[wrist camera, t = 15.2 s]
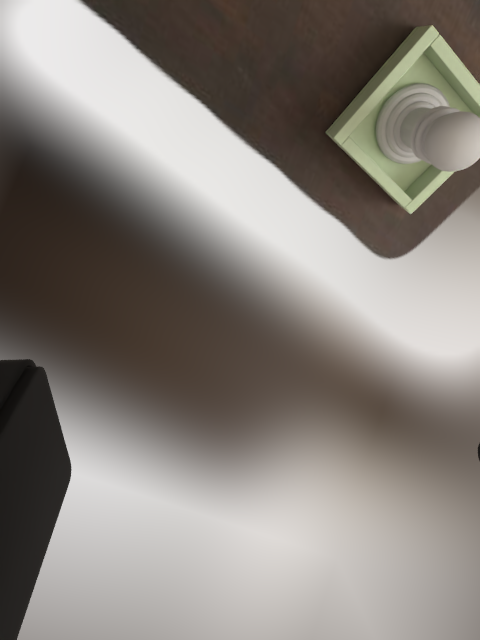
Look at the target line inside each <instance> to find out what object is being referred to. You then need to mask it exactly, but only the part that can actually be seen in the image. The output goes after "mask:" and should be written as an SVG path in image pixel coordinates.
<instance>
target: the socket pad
mask: <svg viewBox="0 0 480 640" xmlns="http://www.w3.org/2000/svg"><path fill="white" fill-rule="evenodd" d="M418 83H424V84H429V85H432V86H434V87H436V88H438V89H439V90H440V91H441V92H442V93H443V94H444V95H445V97H446V99H447V100H448V103H449V105H450V108H456V109H458V110H460V111H464V112H470V113H473V114H475V115H477V116H478V117H479V118H480V85H479V83H478V82H477V81H476V80H475V78H474V77H473V76H472V75H471V73H470V72H469V71H468V69H467V68H466V67H465V66H464V64H463V63H462V62H461V61H460V59H459V58H458V57H457V55H456V54H455V53H454V52H453V50H452V49H451V48H450V47H449V45H448V44H447V43H446V42H445V40H444V39H443V38H442V36H441V35H439V33H438V31H437V30H436V29H435V28H434V26H433V25H427V26H420V27H415V29H414V30H413V31H412V32H411V33H410V34H409V36H408V37H407V38H406V39H405V40H404V41H403V43H402V44H401V45H400V46H399V47H398V48H397V50H396V51H395V52H394V53H393V54H392V55H391V57H390V58H389V59H388V60H387V61H386V62H385V64H384V65H383V66H382V67H381V68H380V69H379V71H378V72H377V73H376V74H375V75H374V76H373V77H372V79H371V80H370V81H369V82H368V83H367V84H366V86H365V87H364V88H363V89H362V90H361V91H360V93H359V94H358V95H357V96H356V97H355V98H354V100H353V101H352V102H351V103H350V104H349V105H348V107H347V108H346V109H345V110H344V111H343V112H342V114H341V115H340V116H339V117H338V118H337V119H336V120H335V122H334V123H333V124H332V125H331V126H330V127H329V129H328V130H327V131H326V132H325V133H326V134H327V135H328V136H329V137H330V138H331V139H332V140H333V141H334V142H335V143H336V144H337V145H338V146H339V147H340V148H341V149H342V150H343V151H344V152H345V153H346V154H347V155H348V156H349V157H350V158H351V159H353V160H354V161H355V162H356V163H357V164H358V165H359V166H360V167H361V168H362V169H363V170H364V171H365V172H366V173H367V174H368V175H369V176H370V177H371V178H372V179H373V180H374V181H375V182H376V183H377V184H378V185H379V186H380V187H381V188H382V189H383V190H384V191H385V192H386V193H387V194H388V195H389V196H390V197H391V198H392V199H393V200H394V201H395V202H396V203H397V204H398V205H399V206H401V207H402V208H403V209H404V210H406V211H407V212H408V213H409V214H412V213H413V212H414V211H415V210H416V209H417V208H418V207H419V206H420V205H421V204H422V203H423V202H424V201H425V200H426V199H427V198H428V197H429V196H430V195H431V194H432V193H433V192H434V191H435V190H436V189H437V188H438V187H439V186H440V185H441V184H442V183H443V182H444V181H445V180H447V179H448V178H449V177H450V176H451V175H452V174H453V173H454V172H455V171H452V172H449V171H442V170H439V169H437V168H436V167H434V166H433V165H432V164H429V163H426V162H425V161H423V160H422V161H419V162H415V163H410V164H401V163H396V162H394V161H392V160H390V159H388V158H387V157H386V156H385V155H384V154H383V153H382V151H381V150H380V148H379V146H378V143H377V139H376V123H377V119H378V116H379V113H380V111H381V109H382V107H383V106H384V104H385V103H386V101H387V100H388V99H389V98H390V97H391V96H392V95H393V94H394V93H396V92H397V91H399V90H400V89H402V88H404V87H406V86H408V85H412V84H418Z"/></svg>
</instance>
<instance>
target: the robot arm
mask: <svg viewBox="0 0 480 640" xmlns="http://www.w3.org/2000/svg"><path fill="white" fill-rule="evenodd" d="M478 457H479V460H480V444H479V447H478ZM70 477H71V463H70V458H69V455H68V451H67V448H66V444H65V441H64V437H63V433H62V430H61V426H60V422H59V419H58V415H57V411H56V408H55V404H54V401H53V397H52V394H51V390H50V386H49V383H48V379H47V375H46V372H45V370H44V368H43V367H36V365H35V363H34V362H33V361H32V360H30V359H29V360H28V359H26V360H1V361H0V640H17V637H18V634H19V631H20V628H21V625H22V622H23V619H24V616H25V613H26V610H27V607H28V604H29V601H30V598H31V595H32V592H33V589H34V586H35V583H36V580H37V577H38V574H39V571H40V568H41V565H42V562H43V559H44V556H45V553H46V551H47V547H48V544H49V542H50V539H51V536H52V533H53V529H54V527H55V523H56V521H57V518H58V515H59V512H60V509H61V506H62V503H63V500H64V497H65V494H66V491H67V488H68V485H69V481H70Z"/></svg>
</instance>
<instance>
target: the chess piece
mask: <svg viewBox="0 0 480 640" xmlns="http://www.w3.org/2000/svg"><path fill="white" fill-rule="evenodd" d="M376 139H377V143H378V146H379V148H380V150H381V151H382V153H383V154H384V155H385V156H386V157H387V158H388V159H390V160H392V161H394V162H396V163H401V164H410V163H415V162H419V161H422V160H423V161H425V162H426V163H429V164H432V165H433V166H434V167H436V168H437V169H439V170H442V171H449V172H452V171H459V170H463V169H465V168H467V167H469V166H471V165H473V164H474V163H475V162H476V161H477V160H478V159H479V158H480V118H479V117H478V116H477V115H475V114H473V113H470V112H464V111H460V110H458V109H456V108H450V105H449V103H448V100H447V99H446V97H445V95H444V94H443V93H442V92H441V91H440V90H439V89H438V88H436V87H434V86H432V85H429V84H424V83H418V84H412V85H408V86H406V87H404V88H402V89H400V90H399V91H397V92H396V93H394V94H393V95H392V96H391V97H390V98H389V99H388V100H387V101H386V103H385V104H384V106H383V107H382V109H381V111H380V113H379V116H378V119H377V123H376Z"/></svg>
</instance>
